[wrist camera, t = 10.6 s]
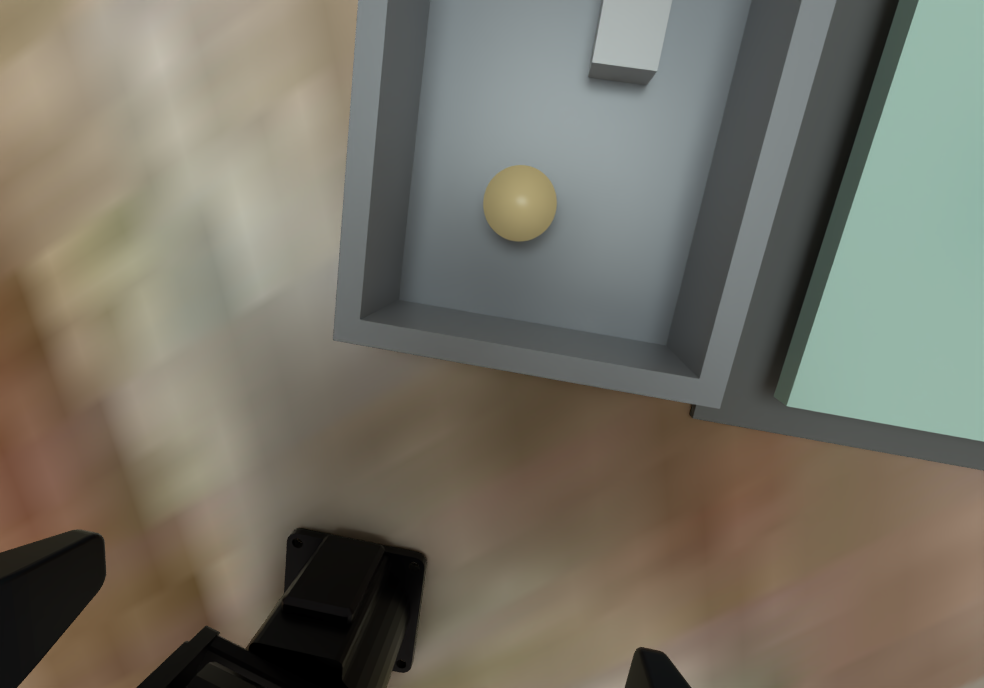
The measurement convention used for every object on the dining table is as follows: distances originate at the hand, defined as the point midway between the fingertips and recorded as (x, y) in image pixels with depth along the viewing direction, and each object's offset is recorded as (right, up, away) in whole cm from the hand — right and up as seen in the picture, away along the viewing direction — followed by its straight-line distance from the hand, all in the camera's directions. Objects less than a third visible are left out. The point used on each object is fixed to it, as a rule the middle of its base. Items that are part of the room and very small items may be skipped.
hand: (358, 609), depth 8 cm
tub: (+5, +12, +10) cm, 17 cm away
